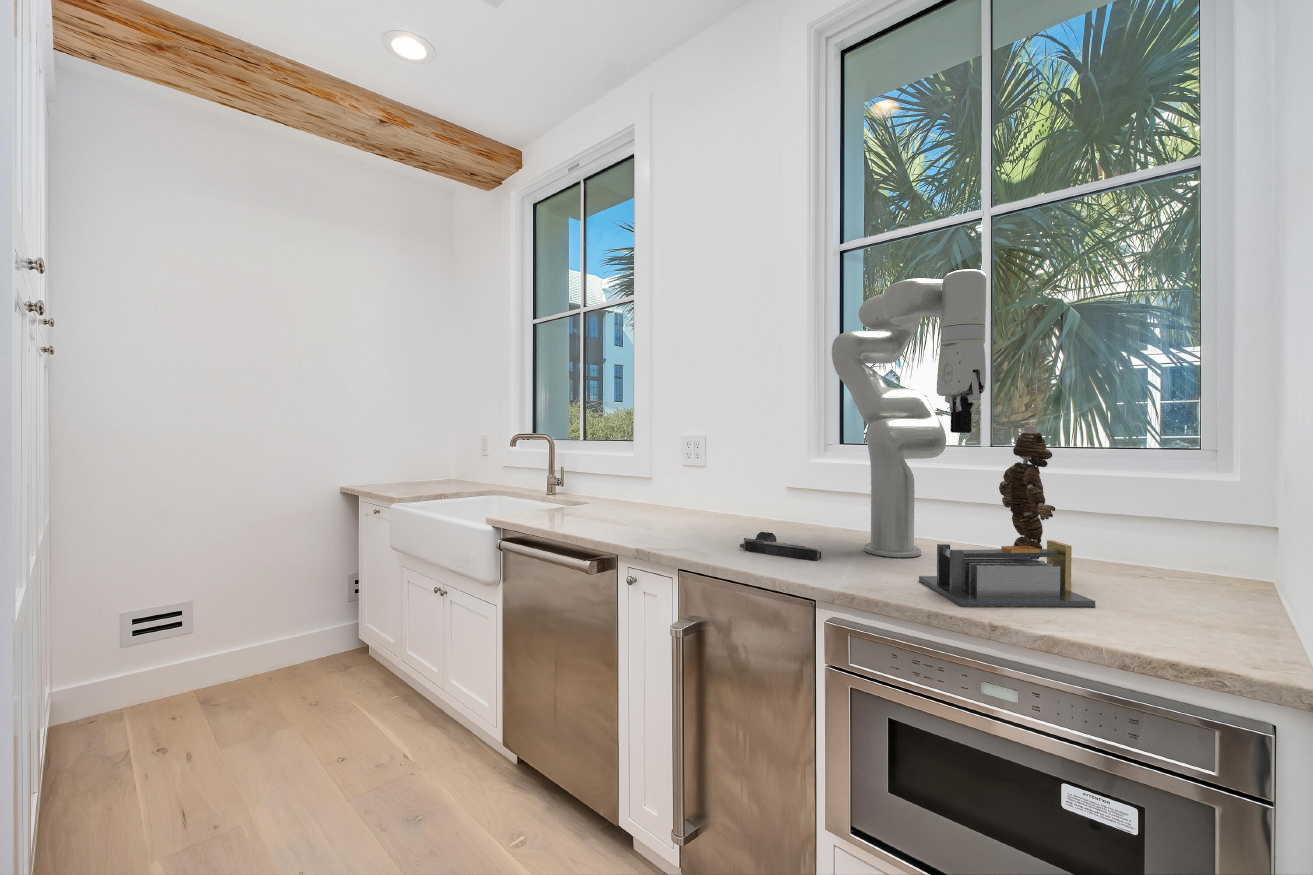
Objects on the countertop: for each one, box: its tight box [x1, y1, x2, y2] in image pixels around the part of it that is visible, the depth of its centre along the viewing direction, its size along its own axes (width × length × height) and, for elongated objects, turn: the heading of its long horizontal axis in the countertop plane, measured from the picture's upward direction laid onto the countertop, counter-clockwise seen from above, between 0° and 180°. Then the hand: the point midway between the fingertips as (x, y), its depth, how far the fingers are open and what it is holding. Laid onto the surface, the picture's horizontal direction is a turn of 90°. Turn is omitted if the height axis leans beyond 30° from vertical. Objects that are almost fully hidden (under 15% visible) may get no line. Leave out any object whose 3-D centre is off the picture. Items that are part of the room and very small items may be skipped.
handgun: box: [739, 531, 822, 562], centre depth 141 cm, size 3×21×12 cm
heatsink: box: [918, 539, 1096, 608], centre depth 105 cm, size 22×16×9 cm
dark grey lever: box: [941, 545, 1057, 558], centre depth 105 cm, size 19×4×2 cm, turn 90°
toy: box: [998, 425, 1056, 560], centre depth 121 cm, size 20×7×30 cm, turn 168°
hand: (960, 432), depth 114 cm, fingers closed
